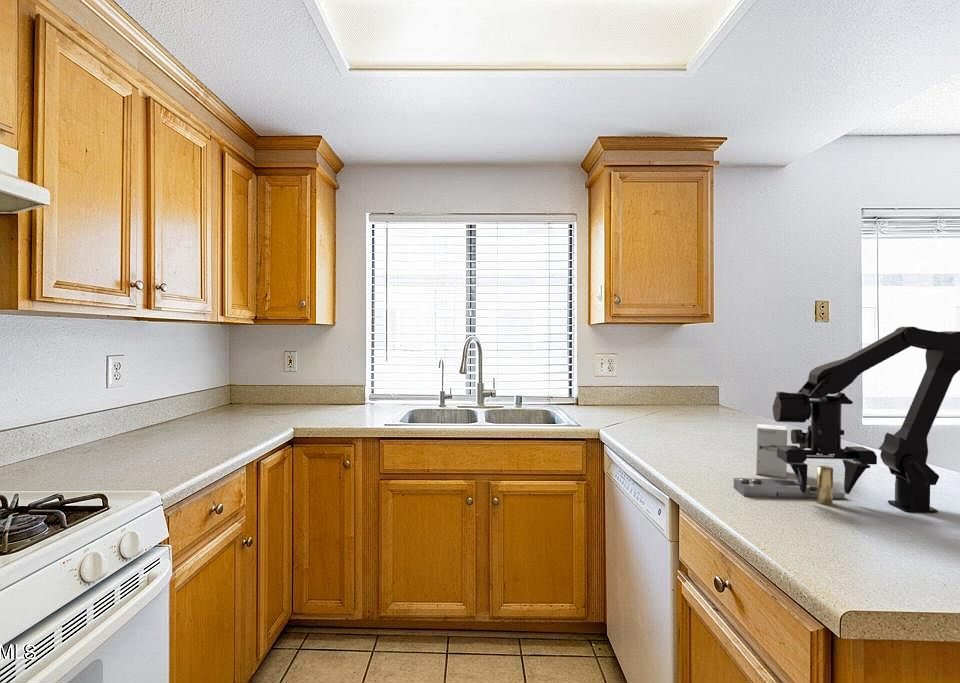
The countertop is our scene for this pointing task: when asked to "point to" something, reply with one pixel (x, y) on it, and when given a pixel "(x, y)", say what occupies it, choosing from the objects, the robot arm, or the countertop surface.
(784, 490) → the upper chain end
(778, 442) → the supplement box
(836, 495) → the lower chain end
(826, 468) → the brass pin
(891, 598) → the countertop surface
